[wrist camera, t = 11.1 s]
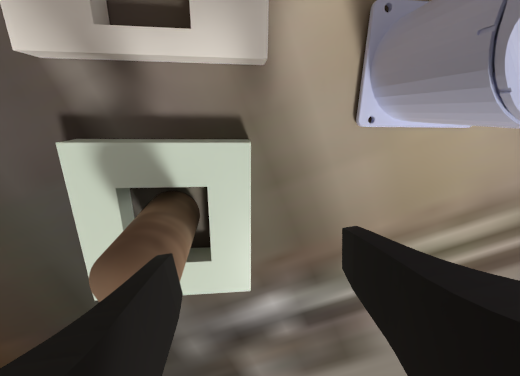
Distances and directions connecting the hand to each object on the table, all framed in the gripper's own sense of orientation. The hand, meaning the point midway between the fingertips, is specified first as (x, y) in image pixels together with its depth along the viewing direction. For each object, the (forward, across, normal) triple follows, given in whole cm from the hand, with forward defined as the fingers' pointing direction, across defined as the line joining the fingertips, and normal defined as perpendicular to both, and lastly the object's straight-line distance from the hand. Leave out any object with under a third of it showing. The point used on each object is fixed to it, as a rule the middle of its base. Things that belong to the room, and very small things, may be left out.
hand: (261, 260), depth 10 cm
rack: (+9, +6, +1) cm, 11 cm away
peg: (+9, +6, +1) cm, 11 cm away
